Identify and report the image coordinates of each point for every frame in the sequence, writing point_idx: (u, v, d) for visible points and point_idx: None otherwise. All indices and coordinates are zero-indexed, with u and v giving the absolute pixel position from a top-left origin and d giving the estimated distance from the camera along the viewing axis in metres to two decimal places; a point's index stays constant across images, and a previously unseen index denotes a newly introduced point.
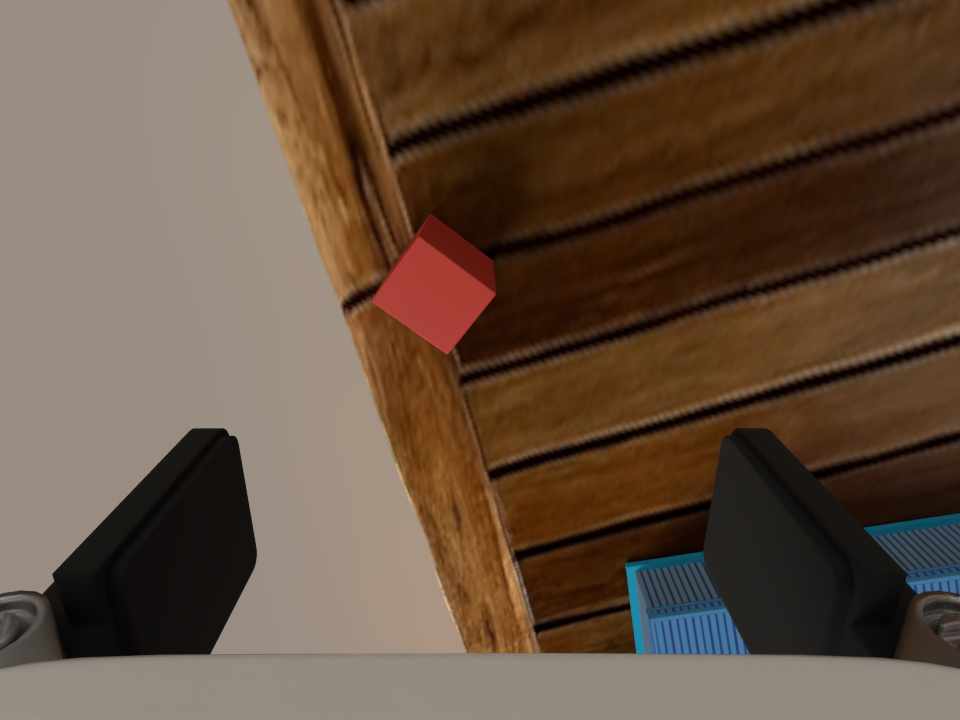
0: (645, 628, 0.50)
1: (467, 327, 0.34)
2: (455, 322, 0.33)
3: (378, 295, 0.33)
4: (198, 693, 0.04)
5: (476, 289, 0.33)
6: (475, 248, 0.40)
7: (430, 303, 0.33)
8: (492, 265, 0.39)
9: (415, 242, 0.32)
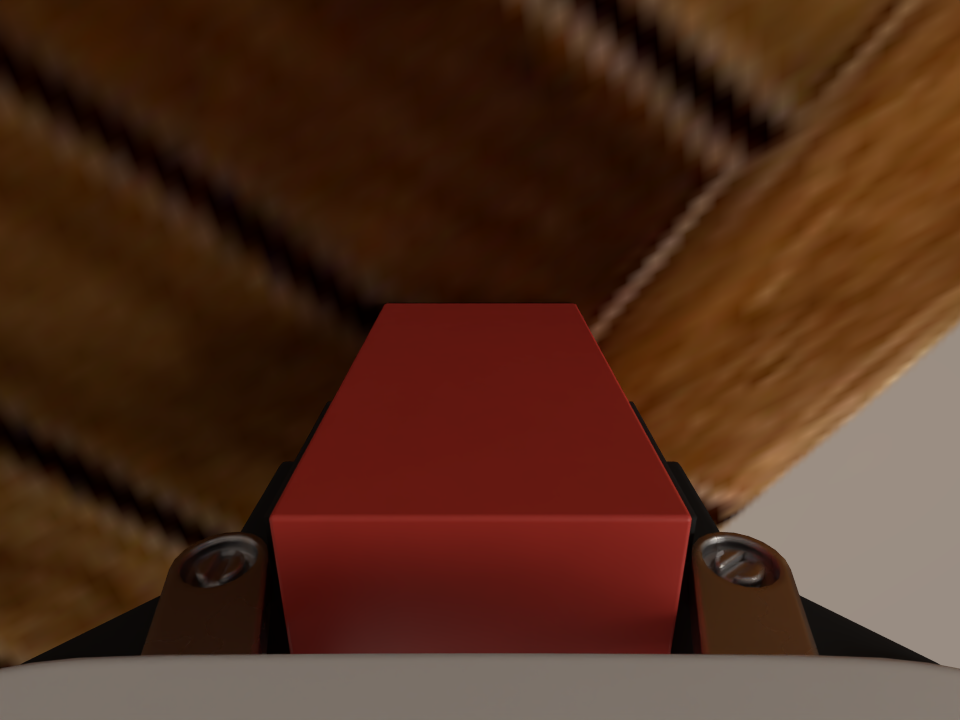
0: None
1: (504, 525, 0.06)
2: (518, 576, 0.07)
3: None
4: (198, 693, 0.04)
5: (320, 594, 0.07)
6: None
7: None
8: None
9: None
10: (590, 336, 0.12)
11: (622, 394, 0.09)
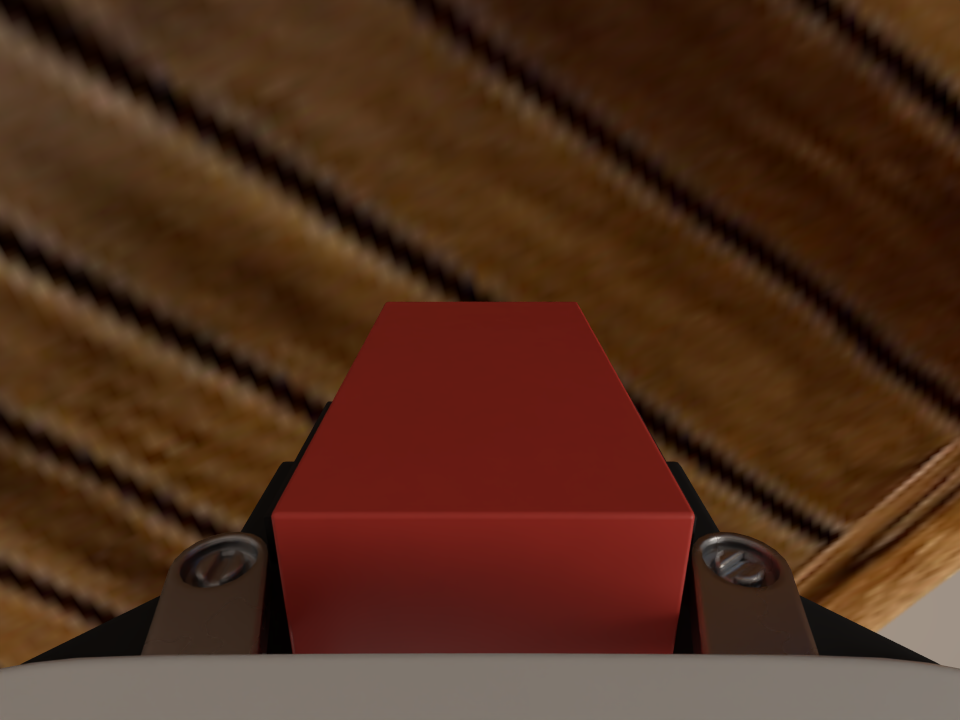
0: None
1: (506, 522, 0.06)
2: (521, 572, 0.07)
3: None
4: (198, 693, 0.04)
5: (322, 591, 0.07)
6: None
7: None
8: None
9: None
10: (593, 334, 0.12)
11: (624, 392, 0.09)
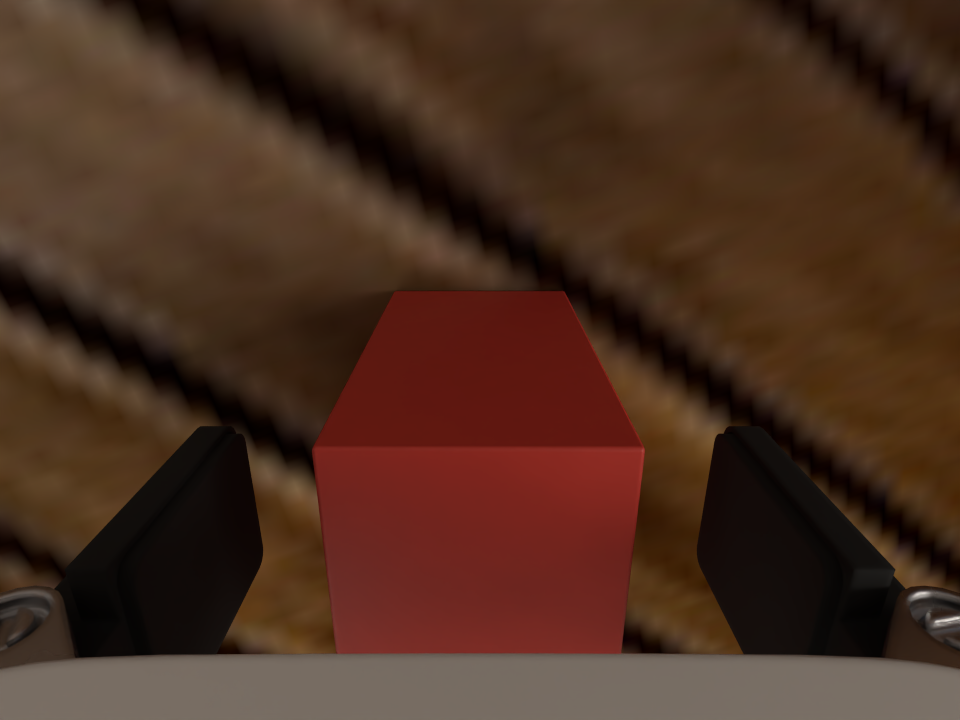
0: None
1: (496, 454, 0.08)
2: (509, 496, 0.08)
3: None
4: (198, 692, 0.04)
5: (351, 511, 0.08)
6: None
7: (504, 596, 0.09)
8: None
9: None
10: (575, 317, 0.14)
11: (598, 362, 0.11)
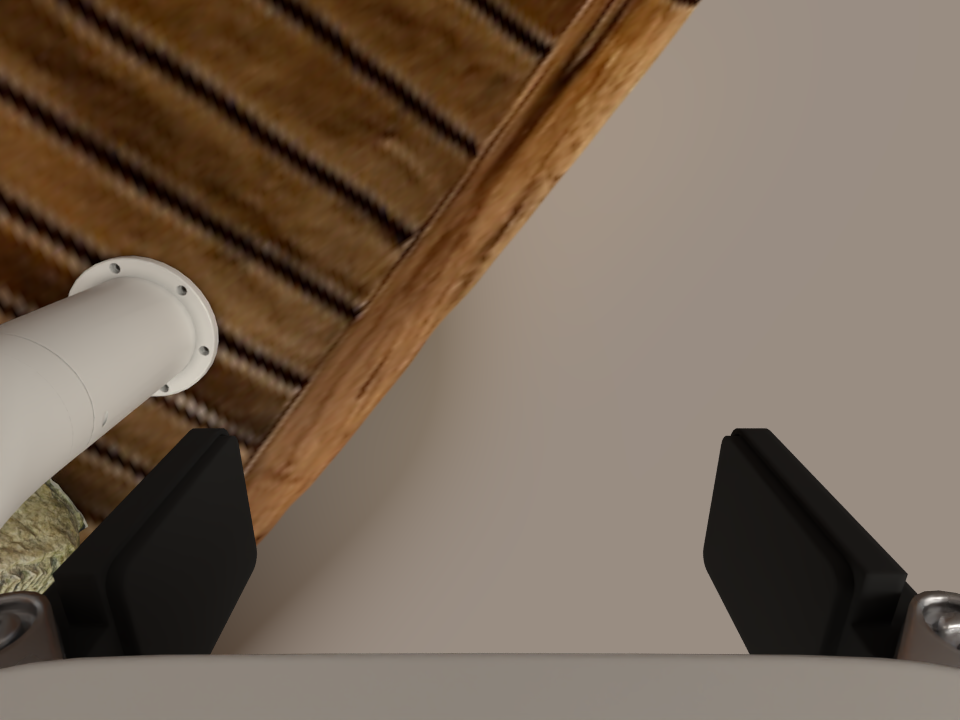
0: None
1: None
2: None
3: None
4: (199, 693, 0.04)
5: None
6: None
7: None
8: None
9: None
10: None
11: None
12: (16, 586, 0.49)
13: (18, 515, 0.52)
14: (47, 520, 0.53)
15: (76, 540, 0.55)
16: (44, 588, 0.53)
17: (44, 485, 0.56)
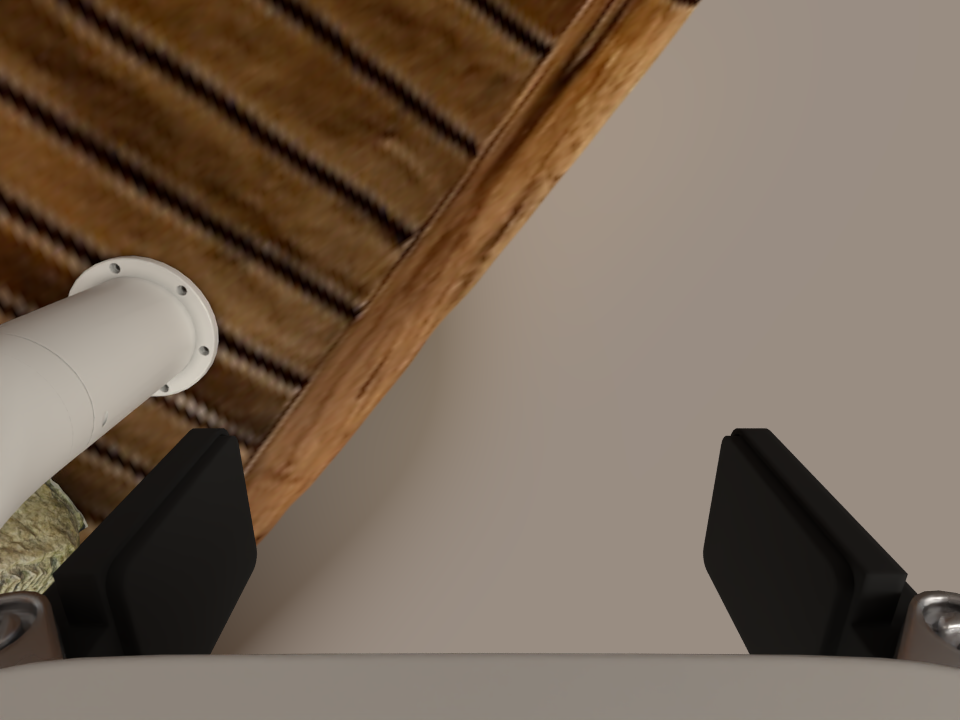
0: None
1: None
2: None
3: None
4: (199, 693, 0.04)
5: None
6: None
7: None
8: None
9: None
10: None
11: None
12: (16, 586, 0.49)
13: (18, 515, 0.52)
14: (47, 520, 0.53)
15: (76, 540, 0.55)
16: (44, 588, 0.53)
17: (44, 485, 0.56)
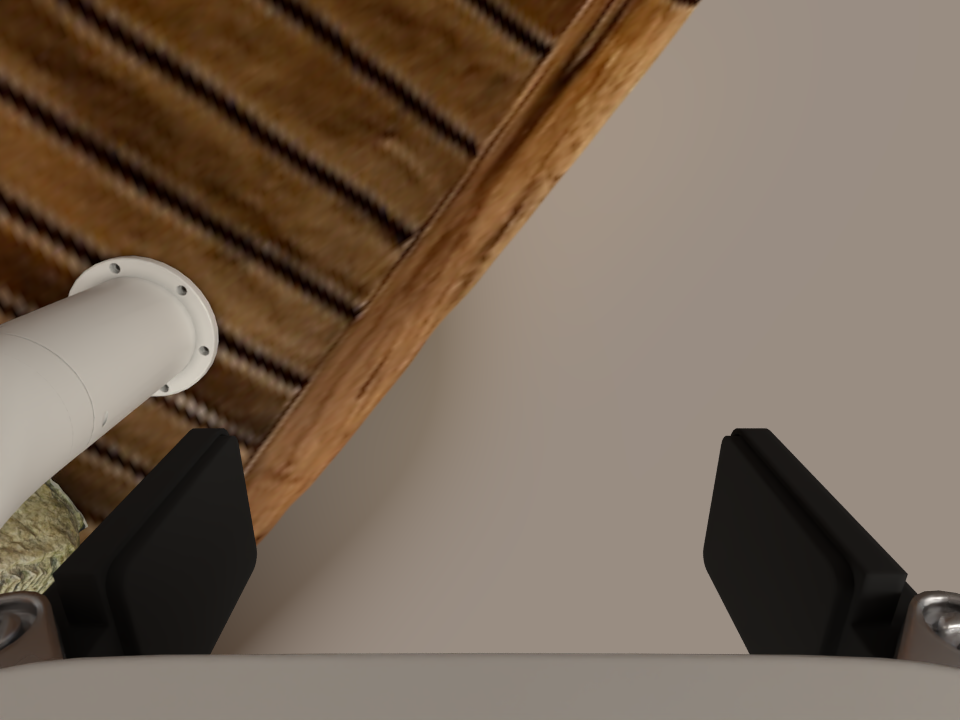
0: None
1: None
2: None
3: None
4: (199, 693, 0.04)
5: None
6: None
7: None
8: None
9: None
10: None
11: None
12: (16, 586, 0.49)
13: (18, 515, 0.52)
14: (47, 520, 0.53)
15: (76, 540, 0.55)
16: (44, 588, 0.53)
17: (44, 485, 0.56)
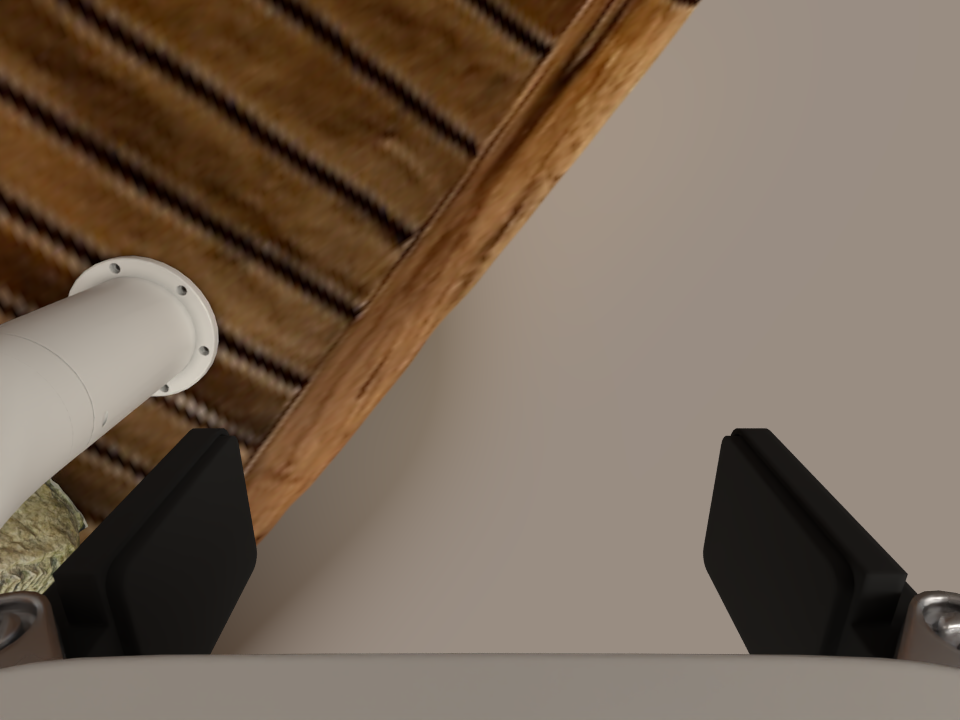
0: None
1: None
2: None
3: None
4: (199, 693, 0.04)
5: None
6: None
7: None
8: None
9: None
10: None
11: None
12: (16, 586, 0.49)
13: (18, 515, 0.52)
14: (47, 520, 0.53)
15: (76, 540, 0.55)
16: (44, 588, 0.53)
17: (44, 485, 0.56)
